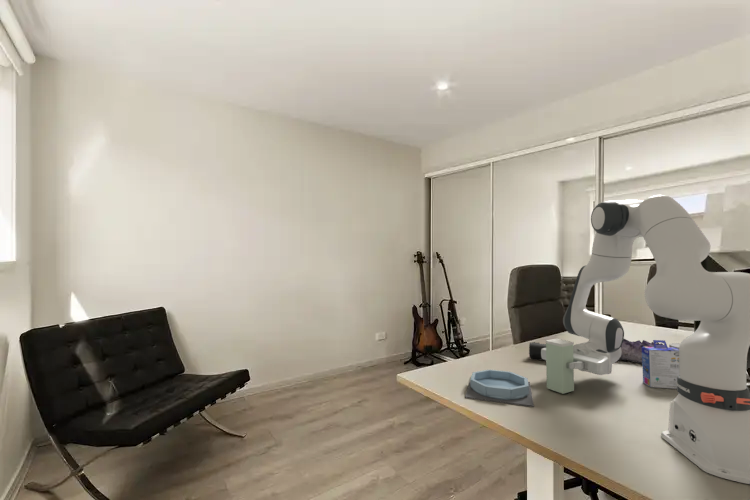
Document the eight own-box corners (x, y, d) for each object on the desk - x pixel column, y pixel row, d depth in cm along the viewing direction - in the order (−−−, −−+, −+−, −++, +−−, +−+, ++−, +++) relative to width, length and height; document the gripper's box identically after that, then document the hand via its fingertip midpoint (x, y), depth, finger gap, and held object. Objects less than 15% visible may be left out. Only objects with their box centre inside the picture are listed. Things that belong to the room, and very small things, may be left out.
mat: (533, 407, 101) (533, 405, 101) (465, 397, 108) (465, 396, 108) (529, 383, 120) (529, 381, 120) (471, 376, 126) (471, 375, 126)
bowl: (530, 403, 102) (529, 392, 103) (468, 395, 109) (468, 384, 109) (527, 382, 119) (527, 373, 119) (473, 376, 125) (473, 367, 125)
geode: (667, 361, 143) (668, 337, 142) (670, 373, 134) (671, 347, 133) (606, 351, 155) (607, 329, 153) (605, 362, 145) (606, 338, 144)
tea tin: (574, 390, 111) (573, 342, 112) (563, 394, 109) (562, 344, 109) (557, 384, 116) (556, 338, 117) (546, 387, 114) (545, 340, 114)
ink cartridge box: (674, 383, 118) (674, 340, 118) (685, 390, 113) (684, 344, 113) (641, 381, 120) (640, 338, 120) (650, 387, 115) (649, 342, 115)
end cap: (529, 360, 145) (529, 344, 145) (530, 356, 151) (530, 340, 151) (556, 364, 140) (556, 347, 140) (557, 359, 146) (556, 343, 146)
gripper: (555, 341, 128) (529, 345, 122) (616, 354, 110) (589, 361, 104) (555, 358, 128) (529, 364, 121) (616, 375, 110) (590, 383, 103)
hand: (558, 363), depth 112 cm, fingers closed on tea tin, 5 cm apart
